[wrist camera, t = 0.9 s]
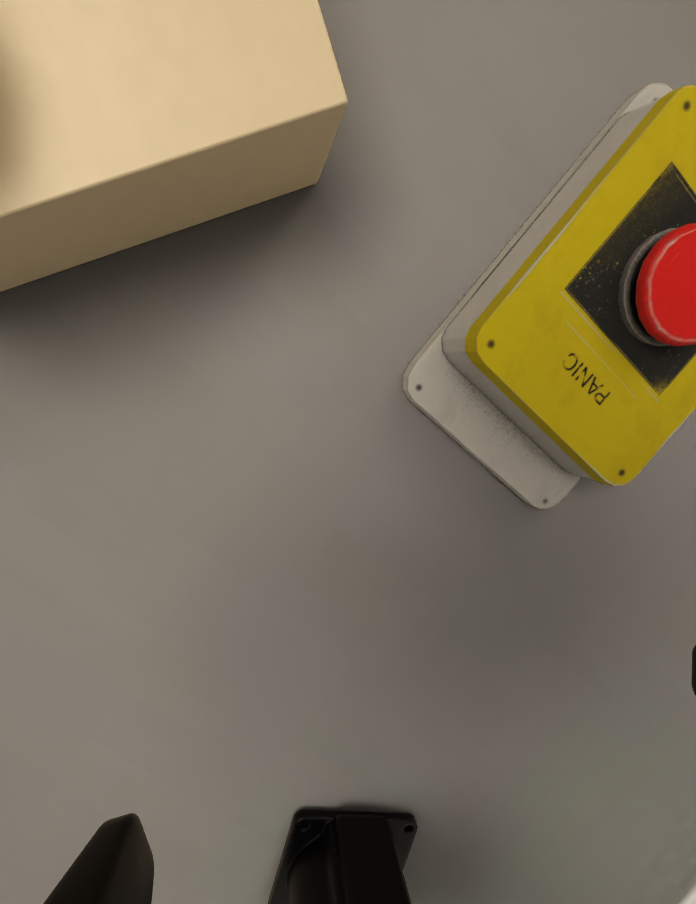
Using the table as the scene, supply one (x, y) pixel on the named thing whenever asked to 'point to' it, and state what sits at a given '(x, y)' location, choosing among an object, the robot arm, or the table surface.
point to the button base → (153, 119)
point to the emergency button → (581, 317)
